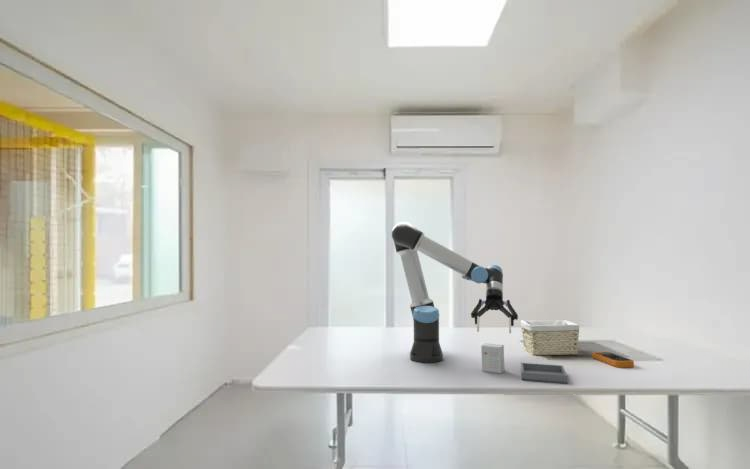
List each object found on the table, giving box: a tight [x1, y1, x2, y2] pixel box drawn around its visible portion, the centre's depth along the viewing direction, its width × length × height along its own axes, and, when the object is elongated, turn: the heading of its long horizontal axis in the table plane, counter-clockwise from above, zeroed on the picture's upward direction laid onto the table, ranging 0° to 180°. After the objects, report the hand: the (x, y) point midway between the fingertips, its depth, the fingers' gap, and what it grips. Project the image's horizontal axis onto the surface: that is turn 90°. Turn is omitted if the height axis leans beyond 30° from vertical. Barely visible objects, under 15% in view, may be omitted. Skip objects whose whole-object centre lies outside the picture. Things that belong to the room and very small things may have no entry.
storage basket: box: [520, 319, 580, 356], centre depth 212 cm, size 24×16×15 cm
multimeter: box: [592, 351, 635, 369], centre depth 191 cm, size 9×18×3 cm, turn 7°
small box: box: [480, 342, 505, 374], centre depth 178 cm, size 8×6×10 cm
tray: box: [520, 362, 569, 385], centre depth 169 cm, size 16×15×3 cm
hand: (493, 330), depth 189 cm, fingers open, 13 cm apart
